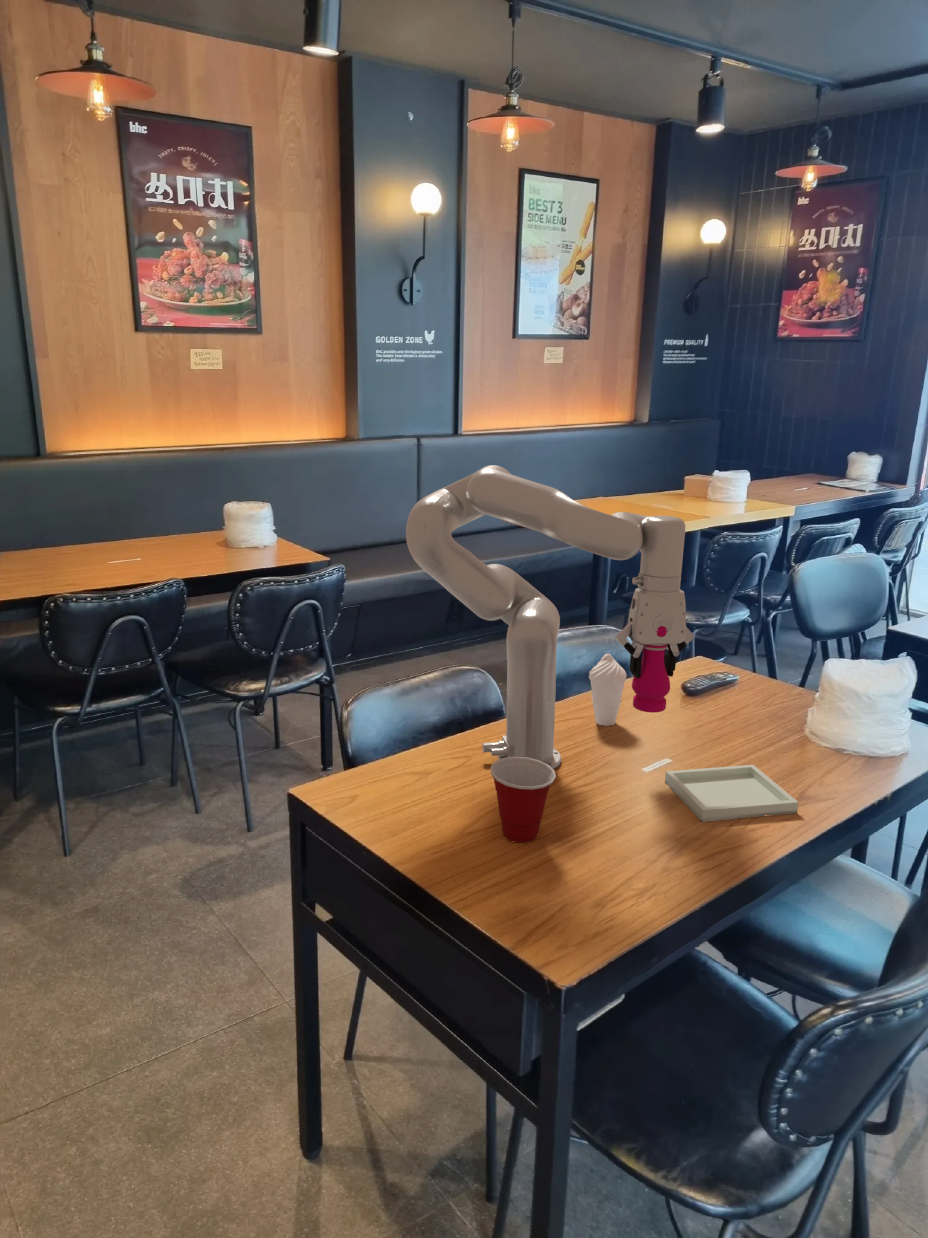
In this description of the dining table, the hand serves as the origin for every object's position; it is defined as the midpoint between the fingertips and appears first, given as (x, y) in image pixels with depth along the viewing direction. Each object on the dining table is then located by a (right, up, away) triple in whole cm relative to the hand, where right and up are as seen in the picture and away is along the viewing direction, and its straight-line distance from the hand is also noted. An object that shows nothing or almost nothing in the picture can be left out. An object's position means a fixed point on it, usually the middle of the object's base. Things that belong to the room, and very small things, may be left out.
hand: (651, 674), depth 167 cm
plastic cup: (-26, -26, -20) cm, 42 cm away
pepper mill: (0, -7, +2) cm, 7 cm away
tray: (+13, -22, -6) cm, 26 cm away
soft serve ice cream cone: (-4, -13, +29) cm, 32 cm away
